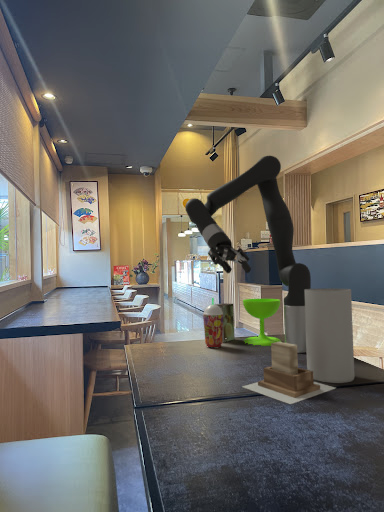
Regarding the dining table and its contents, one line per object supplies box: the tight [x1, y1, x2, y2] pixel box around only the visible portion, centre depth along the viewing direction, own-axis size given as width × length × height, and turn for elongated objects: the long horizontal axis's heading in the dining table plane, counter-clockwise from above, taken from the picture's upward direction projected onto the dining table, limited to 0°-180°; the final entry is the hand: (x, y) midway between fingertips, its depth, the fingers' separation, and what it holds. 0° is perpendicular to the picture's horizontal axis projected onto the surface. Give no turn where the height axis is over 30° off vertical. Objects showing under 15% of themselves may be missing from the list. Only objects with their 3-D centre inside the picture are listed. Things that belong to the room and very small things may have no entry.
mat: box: [241, 381, 336, 405], centre depth 94 cm, size 18×16×1 cm
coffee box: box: [215, 302, 235, 343], centre depth 161 cm, size 9×6×16 cm
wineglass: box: [242, 298, 282, 347], centre depth 155 cm, size 16×16×18 cm
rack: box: [257, 365, 320, 398], centre depth 94 cm, size 10×12×4 cm
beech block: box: [270, 341, 299, 375], centre depth 94 cm, size 3×6×10 cm, turn 35°
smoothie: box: [202, 297, 223, 348], centre depth 147 cm, size 8×8×20 cm
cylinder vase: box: [305, 287, 355, 384], centre depth 103 cm, size 12×12×25 cm
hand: (239, 271), depth 118 cm, fingers open, 8 cm apart
